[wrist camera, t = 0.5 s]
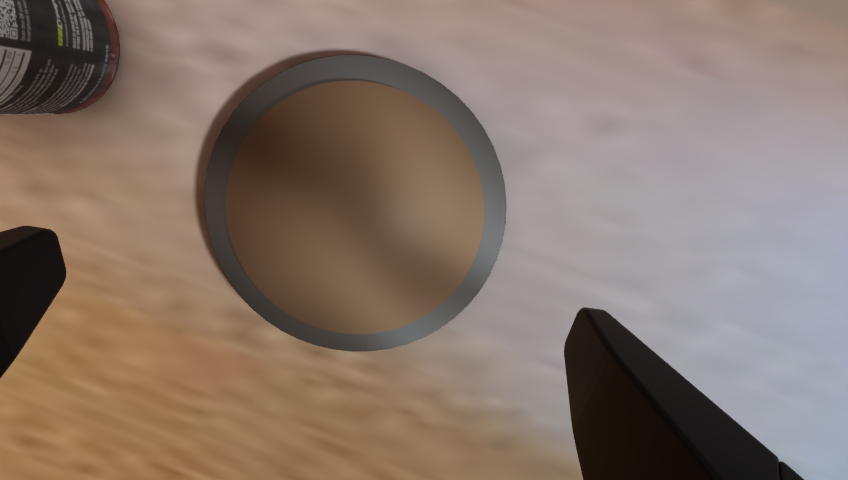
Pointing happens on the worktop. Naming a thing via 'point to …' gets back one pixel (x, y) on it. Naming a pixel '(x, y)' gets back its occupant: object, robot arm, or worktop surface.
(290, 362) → the worktop surface
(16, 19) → the supplement bottle
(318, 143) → the coaster
